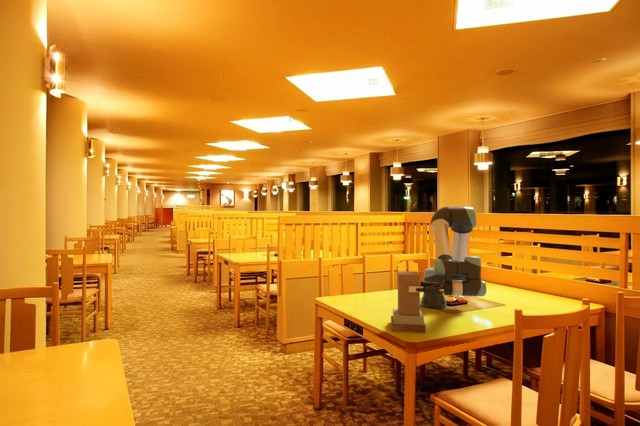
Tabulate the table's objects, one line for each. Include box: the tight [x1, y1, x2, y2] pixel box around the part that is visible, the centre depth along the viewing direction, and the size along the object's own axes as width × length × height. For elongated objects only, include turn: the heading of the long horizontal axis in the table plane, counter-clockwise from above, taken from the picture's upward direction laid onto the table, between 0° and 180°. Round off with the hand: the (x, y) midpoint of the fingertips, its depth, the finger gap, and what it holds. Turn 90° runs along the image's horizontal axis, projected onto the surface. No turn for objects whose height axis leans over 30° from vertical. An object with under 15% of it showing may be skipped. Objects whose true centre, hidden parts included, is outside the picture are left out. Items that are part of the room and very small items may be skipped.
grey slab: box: [392, 308, 425, 325], centre depth 203 cm, size 14×14×4 cm
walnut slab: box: [390, 315, 427, 334], centre depth 202 cm, size 16×16×4 cm
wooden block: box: [397, 270, 421, 315], centre depth 202 cm, size 10×10×20 cm
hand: (407, 286), depth 202 cm, fingers open, 13 cm apart
